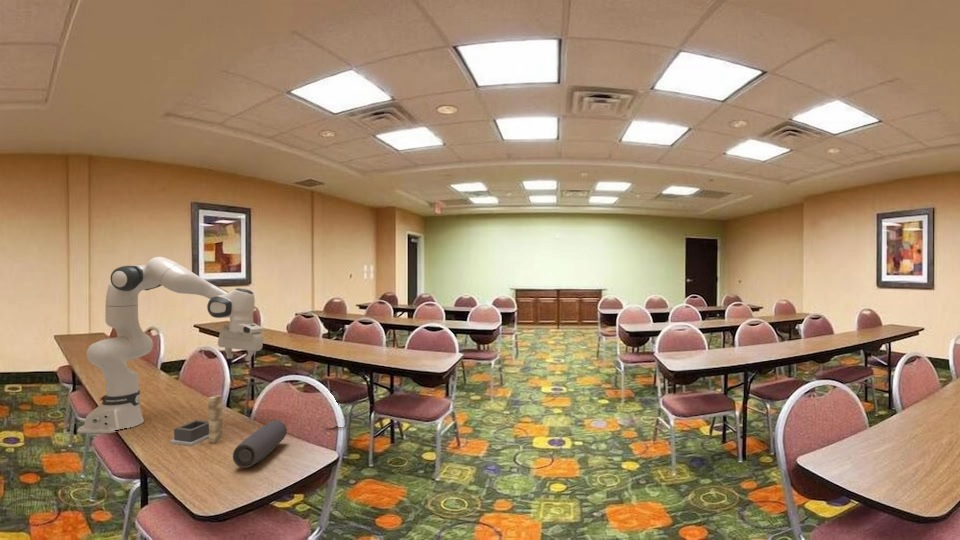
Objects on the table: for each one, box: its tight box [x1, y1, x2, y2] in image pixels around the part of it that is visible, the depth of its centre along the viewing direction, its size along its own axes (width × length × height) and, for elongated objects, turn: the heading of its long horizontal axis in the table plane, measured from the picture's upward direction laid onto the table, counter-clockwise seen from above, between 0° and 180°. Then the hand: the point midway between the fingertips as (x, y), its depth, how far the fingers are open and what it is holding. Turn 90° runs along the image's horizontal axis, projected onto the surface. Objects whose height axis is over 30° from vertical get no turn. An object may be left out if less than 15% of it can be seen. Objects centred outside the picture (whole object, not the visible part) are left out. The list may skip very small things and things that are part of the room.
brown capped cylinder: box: [327, 380, 341, 406], centre depth 191 cm, size 7×7×20 cm
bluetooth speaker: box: [232, 419, 288, 469], centre depth 163 cm, size 23×9×10 cm, turn 178°
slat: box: [207, 394, 224, 445], centre depth 177 cm, size 4×2×18 cm, turn 165°
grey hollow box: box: [169, 419, 209, 447], centre depth 180 cm, size 12×10×6 cm
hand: (238, 359), depth 189 cm, fingers open, 8 cm apart
